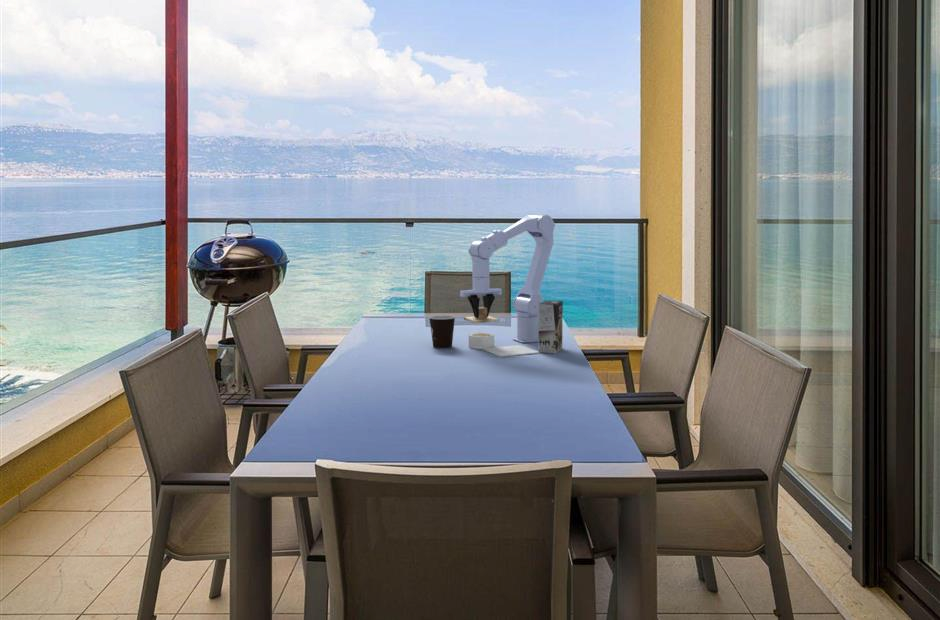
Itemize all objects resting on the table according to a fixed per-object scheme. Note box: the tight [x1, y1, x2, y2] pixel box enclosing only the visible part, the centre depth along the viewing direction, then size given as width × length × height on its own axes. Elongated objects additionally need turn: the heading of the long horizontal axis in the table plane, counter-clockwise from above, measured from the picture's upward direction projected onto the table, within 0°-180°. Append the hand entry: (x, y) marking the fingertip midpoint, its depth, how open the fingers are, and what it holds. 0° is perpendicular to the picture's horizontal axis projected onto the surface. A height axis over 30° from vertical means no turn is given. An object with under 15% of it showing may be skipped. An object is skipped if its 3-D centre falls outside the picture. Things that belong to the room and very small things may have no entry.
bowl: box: [468, 332, 495, 350], centre depth 287 cm, size 8×8×4 cm
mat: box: [481, 344, 540, 358], centre depth 279 cm, size 14×14×1 cm
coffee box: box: [537, 300, 564, 354], centre depth 279 cm, size 9×6×16 cm
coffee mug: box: [428, 314, 456, 349], centre depth 289 cm, size 12×9×10 cm
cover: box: [463, 306, 500, 324], centre depth 286 cm, size 9×9×4 cm
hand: (481, 316), depth 286 cm, fingers closed on cover, 3 cm apart
